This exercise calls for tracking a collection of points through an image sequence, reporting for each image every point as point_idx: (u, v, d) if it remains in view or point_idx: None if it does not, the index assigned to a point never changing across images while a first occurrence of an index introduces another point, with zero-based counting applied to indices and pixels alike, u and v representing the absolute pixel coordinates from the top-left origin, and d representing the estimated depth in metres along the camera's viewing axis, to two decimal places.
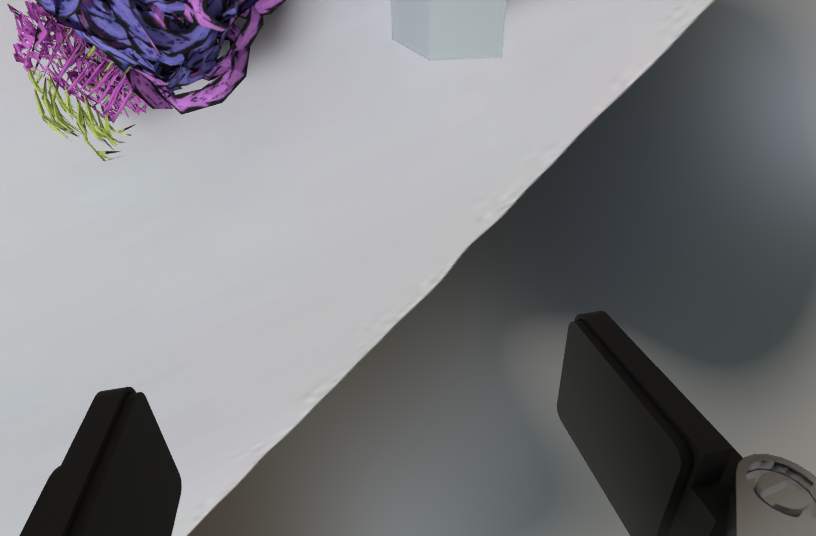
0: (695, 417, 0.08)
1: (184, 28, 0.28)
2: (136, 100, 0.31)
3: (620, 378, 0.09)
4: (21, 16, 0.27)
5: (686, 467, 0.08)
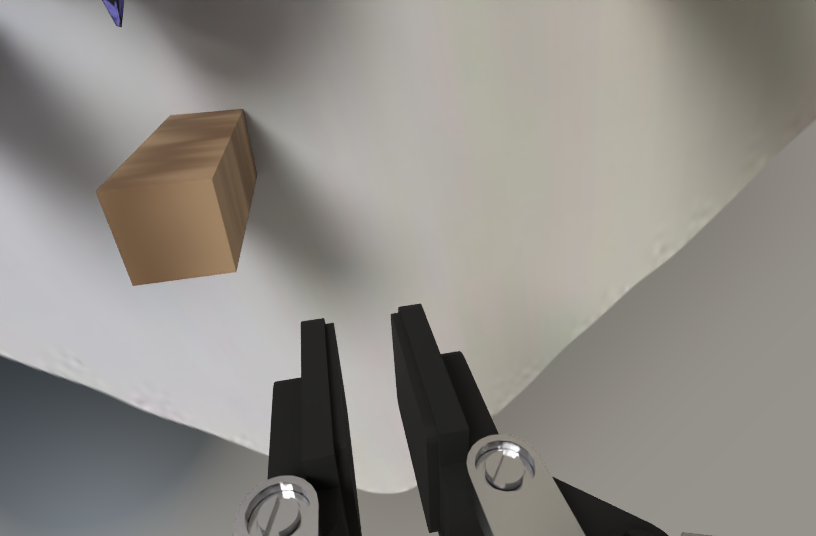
0: (450, 401, 0.09)
1: None
2: None
3: (408, 366, 0.10)
4: None
5: (433, 447, 0.08)
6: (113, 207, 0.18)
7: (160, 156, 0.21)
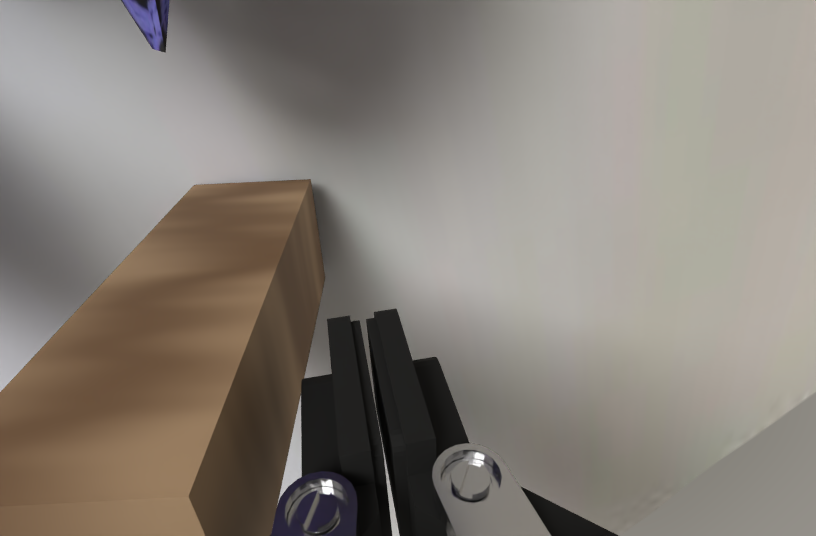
0: (418, 409, 0.08)
1: None
2: None
3: (379, 373, 0.10)
4: None
5: (400, 456, 0.08)
6: None
7: (120, 332, 0.10)
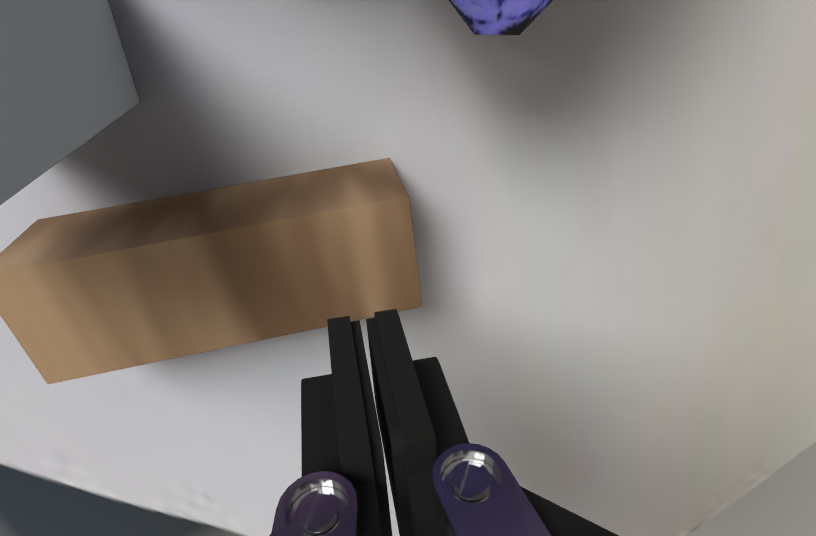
0: (418, 409, 0.08)
1: None
2: None
3: (379, 373, 0.10)
4: None
5: (400, 456, 0.08)
6: None
7: (144, 212, 0.16)
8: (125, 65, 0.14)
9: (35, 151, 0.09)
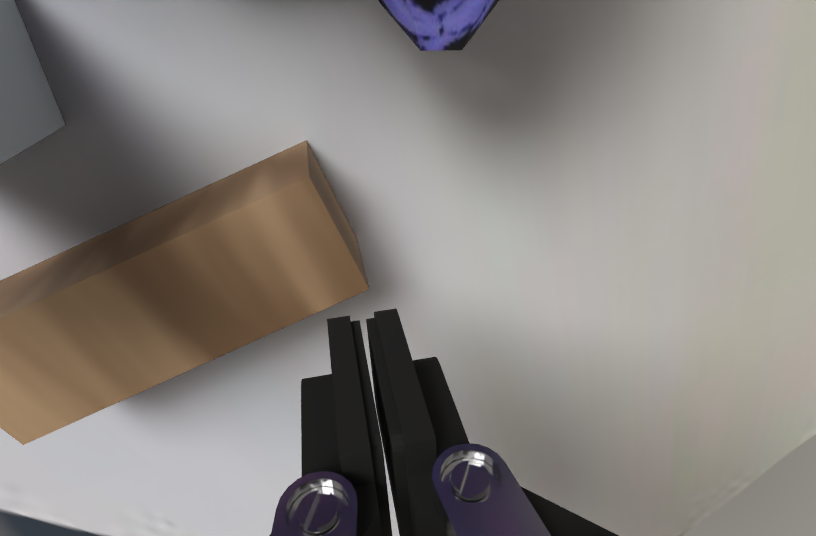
0: (418, 409, 0.08)
1: None
2: None
3: (379, 373, 0.10)
4: None
5: (400, 456, 0.08)
6: None
7: (71, 257, 0.16)
8: (46, 88, 0.14)
9: None
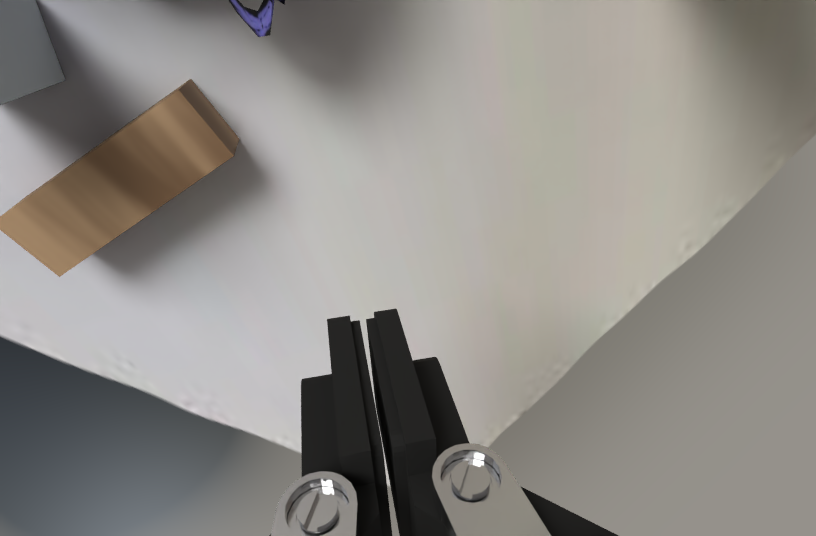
0: (418, 409, 0.08)
1: None
2: None
3: (379, 373, 0.10)
4: None
5: (400, 456, 0.08)
6: None
7: (68, 167, 0.27)
8: (55, 58, 0.25)
9: (0, 92, 0.20)
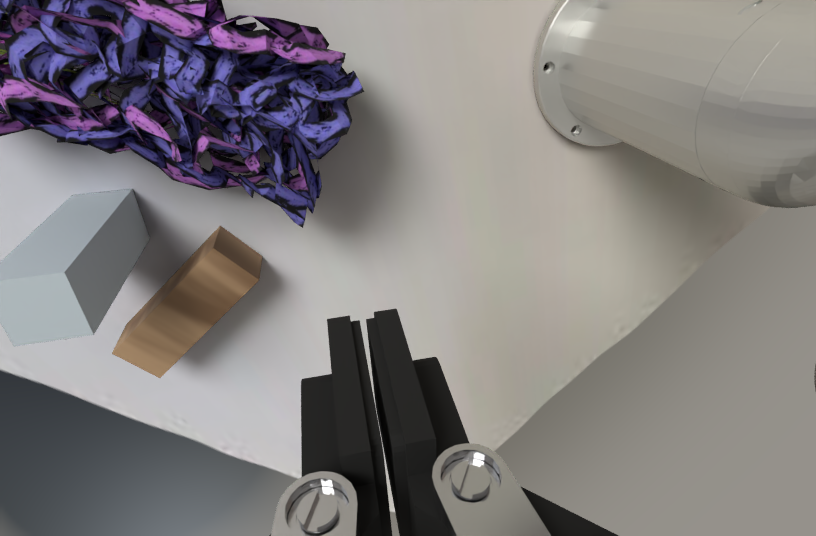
0: (418, 409, 0.08)
1: None
2: None
3: (379, 373, 0.10)
4: None
5: (400, 456, 0.08)
6: None
7: (151, 302, 0.39)
8: (144, 226, 0.36)
9: (120, 279, 0.31)
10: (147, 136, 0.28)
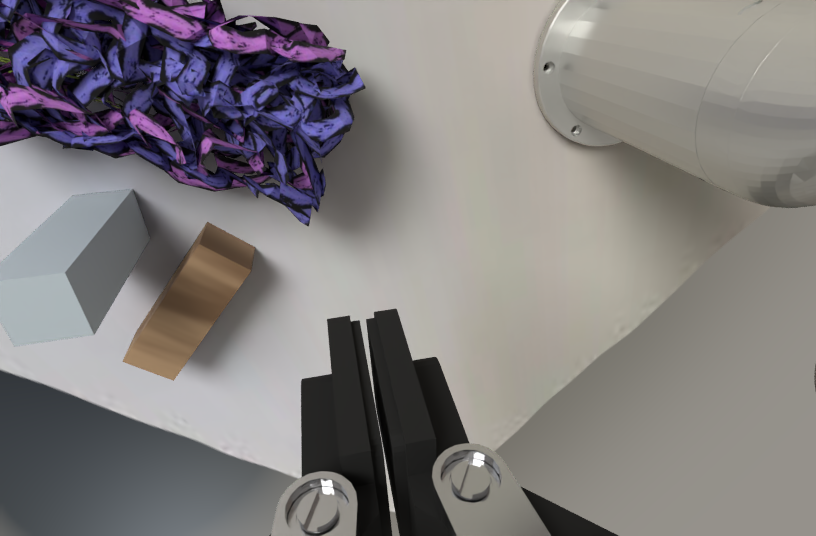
0: (418, 409, 0.08)
1: None
2: None
3: (379, 373, 0.10)
4: None
5: (400, 456, 0.08)
6: None
7: (153, 307, 0.39)
8: (144, 227, 0.36)
9: (121, 279, 0.31)
10: (151, 139, 0.28)
